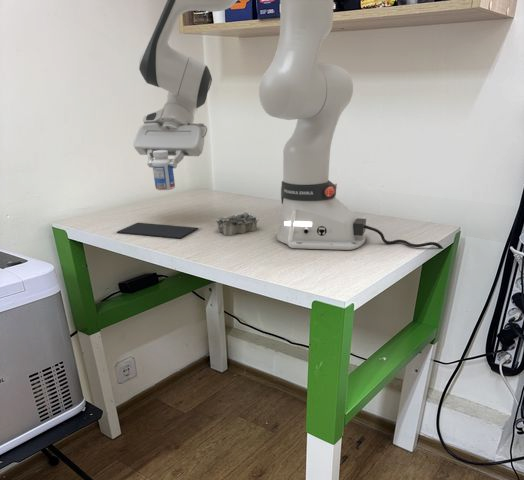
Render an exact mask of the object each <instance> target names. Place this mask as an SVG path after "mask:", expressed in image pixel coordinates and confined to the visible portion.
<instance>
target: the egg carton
mask: <svg viewBox="0 0 524 480" xmlns="http://www.w3.org/2000/svg"><path fill="white" fill-rule="evenodd" d="M258 221H260V219H257V218H256V216H254V215H252V214H249V213H248V212H247V211H246V212H244V213H240V214H236V215H235V214H233V215H232V216H231V215H230V216H227V217H217V219H215V221H214V222H215V223H216V229H217V232H218V233H223V235H224V236H234V235H235V234H244V233H246V232H248V231H250V232H256V230H257V229H258V227H257V226H258Z"/></svg>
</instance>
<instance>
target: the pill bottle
mask: <svg viewBox="0 0 524 480" xmlns="http://www.w3.org/2000/svg"><path fill="white" fill-rule="evenodd" d="M153 156H154V158H153V159H154V160H153V161H152V167H153V168H152V167H151V168H152V173H153V180H154V186H155V189H156V190H157V191H170V190H173V189H175V188H176V182H175V173H174V168H170V166H169V162H170V159H171V158H169V156H168V151H167V150H157V151H153Z"/></svg>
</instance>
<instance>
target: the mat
mask: <svg viewBox="0 0 524 480" xmlns="http://www.w3.org/2000/svg"><path fill="white" fill-rule="evenodd" d="M198 230H199V227H196V226H195V227H193V226H182V225H171V224H161V223H160V224H158V223H147V222H136V223H134V224H132V225H130V226H126V227H124V228H122V229H119V230H117V231H116V233H117V234H122V235H123V234H125V235H135V236H145V237H157V238H166V239H177V240H181V239H183V238H185V237H186V236H188V235H190V234H193V233H194V232H195V231H198Z"/></svg>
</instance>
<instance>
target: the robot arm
mask: <svg viewBox="0 0 524 480" xmlns="http://www.w3.org/2000/svg"><path fill="white" fill-rule="evenodd" d="M237 2H238V0H167V1H166V3H165V5H164V7H163V10H162V11H161V14H160V16H159V19H158V21H157V23H156V25H155V28H154V30H153V32H152V34H151V37H150V39H149V41H148V42H147V44H146V45H145V46H144V48H143V50H142V52H141V54H140V58H139V63H138V65H139V66H138V70H139V72H140V74H141V77H142V78H143V80H144V81H145V83H146V84H148V85H152V86H154V87H157V88H161V89H163V90H165V91H167V95H166V96H167V98H166V102H165V103H164V105H163V107H162V108H160V109H158V110H157V111H154V112H151V113H147V114H145V115H144V116H143V118H142V122H143V124H141V125H140V127H138V130H137V133H136V135H135V138H134V140H133V147H134V149H135V150H136V152H137V153H138V155H140V156H147V159H148V160H147V163H146V165H147V166H148V167H149V168H152V169H153V167H152V161H153V160H155V158H154V156H153V151H157V150H167V151H168V157H172V156H174V157H173V158H169V159H170V162H169V166H170V168H173V169H177V167H178V164H179V163H180V162H182V161H183V160H184V157H199V156H201V155H202V153H203V151H204V145H205V138H206V136H207V133H208V127H207V125H206V124H205V123H202V122H201V123H194V121H195V114H196V113H197V111H198V109H199V108H201V107H202V106H204V105H205V104H206V101H207V97H208V94H209V91H210V88H211V85H212V82H213V78H212V73H211V70H210V69H209V67H208V65H207V64H205V63H203V62H202V61H199V60H197V59H196V58H193V57H192V56H188V55H186V54H184V53H183V52H180V51H178V50H177V49H174V48H172V46H170V45H169V40H170V38H171V36H172V34H173V32H174V29H175V27H176V25H177V23H178V21H179V18H180V17H181V16H182V15H183V14H185V13H187V12H193V11H195V12H196V11H198V12H199V11H200V12H202V11H203V12H210V13H211V12H212V13H214V12H215V13H216V12H221V11H222V12H223V11H226V10H228V9H230V8H232V7H233V6H234V5H235V4H236V3H237ZM279 12H280V13H279V18H280V21H279V35H278V42H277V47H276V50H275V53H274V57H273V59H272V61H271V64H270V65H269V67H268V68H267V69H266V70H265V71H264V73H263V75H262V77H261V78H260V82H259V86H258V98H259V102H260V105H261V107H262V109H263V111H264V112H265V113H266V114H267V115H268V116H270V117H273V118H276V119H280V120H285V121H291V120H292V121H293V120H297V121H296V123H295V128H294V130H293V133H292V135H291V136H290V138H289V139H287V141H286V142H285V144H284V146H283V150H282V157H283V158H282V160H283V161H282V177H283V178H282V179H283V180H282V181H281V187H280V200H281V204H282V205H281V206H282V207H281V215H280V223H279V227H278V231H277V235H276V239H277V240H278V241H279V242H281V243H283V244H285V245H287V246H288V247H289V248H290V249H309V250H337V251H338V250H340V251H352V250H355V249H356V250H357V249H358V248H360V247H362V246H363V244H364V243H365V242H366V234H365V232H366V230H369V231H372V232H375V233H377V234H378V235H379V236H380V239H381V240H382V242H383V243H384V244H385V245H394V244H399V243H400V244H401V243H402V244H405V245H406V246H408V247H411V248H422V247H429V246H435V247H437V248H438V249H441V250H443V249H444V247H443V246H442V245H441V244H440V243H438V242H434V241H429V242H422V243H411V242H409V241H407V240H404V239H395V240H387V239H386V238H385V236H384V234H383V232H382V231H381V230H379V229H377V228H375V227H372V226H369V225H367V218H362V217H361V218H360V217H359V218H358V217H356V215H355V212H353V210H351V209H350V208H349V207H347V206H346V205H345V204H344V203H343V202H341V201H340V200H339V198H337V197H336V196H337V189H338V183H333V182H332V181H331V180H329V178H330V177H329V176H330V175H329V174H330V160H331V149H332V143H333V138H334V134H335V131H336V128H337V125H338V122H339V120H340V118H341V115H342V113H343V112H344V110H345V109H346V108H347V107H348V106H349V104H350V102H351V101H352V97H353V93H354V83H353V79H352V77H351V74H350V73H349V72H348V70H347V69H345V68H343V67H341V66H339V65H336V64H333V63H330V62H319V54H320V52H321V51H320V50H321V47H322V44H323V42H324V40H325V38H326V37H327V36H328V35H329V34H330V33H331V31H332V28H333V25H334V0H279Z"/></svg>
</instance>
